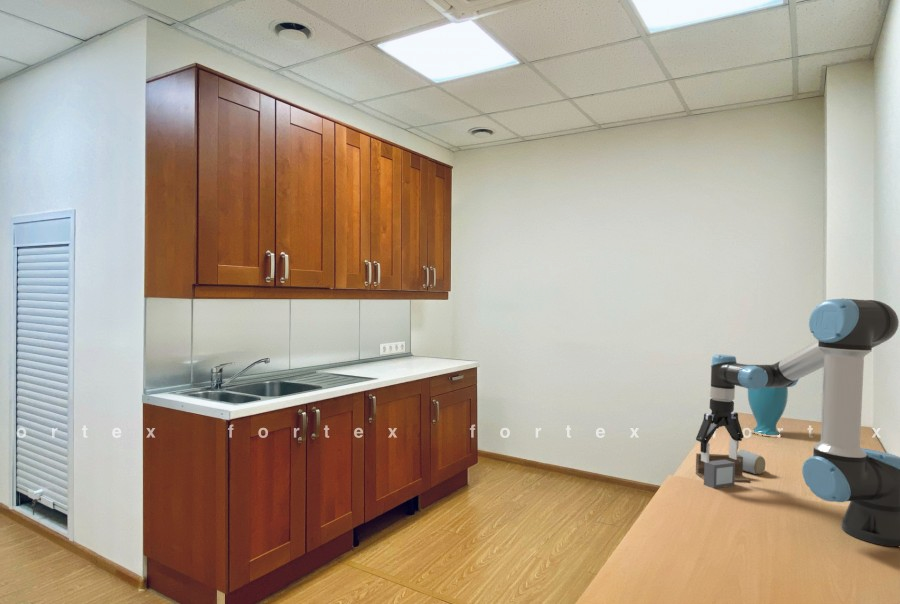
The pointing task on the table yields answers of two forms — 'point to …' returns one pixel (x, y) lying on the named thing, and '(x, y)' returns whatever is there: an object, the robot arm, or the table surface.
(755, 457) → the ceramic mug
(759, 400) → the vase
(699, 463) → the wall rail
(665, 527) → the table surface
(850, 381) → the robot arm
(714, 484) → the grey box
